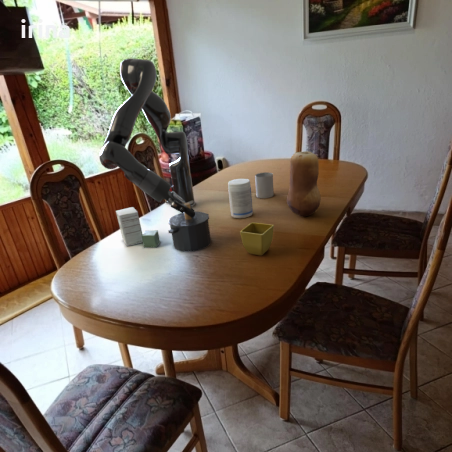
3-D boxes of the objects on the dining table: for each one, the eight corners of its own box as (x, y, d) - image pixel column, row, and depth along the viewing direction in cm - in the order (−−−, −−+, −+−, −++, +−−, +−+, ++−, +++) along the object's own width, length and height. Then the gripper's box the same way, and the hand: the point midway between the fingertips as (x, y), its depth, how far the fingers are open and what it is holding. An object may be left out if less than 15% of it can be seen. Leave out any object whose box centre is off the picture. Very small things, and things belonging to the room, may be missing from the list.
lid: (160, 225, 147) (157, 207, 144) (188, 212, 157) (185, 195, 153) (190, 231, 139) (187, 213, 135) (217, 217, 148) (215, 200, 145)
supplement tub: (257, 214, 172) (255, 180, 165) (239, 220, 168) (236, 186, 161) (244, 209, 179) (241, 176, 172) (226, 215, 175) (223, 181, 168)
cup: (254, 197, 193) (252, 177, 188) (259, 192, 199) (258, 172, 194) (270, 198, 190) (270, 177, 184) (275, 193, 196) (275, 172, 191)
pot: (161, 250, 150) (156, 226, 145) (195, 231, 162) (192, 209, 157) (188, 257, 142) (184, 232, 137) (222, 237, 154) (219, 214, 149)
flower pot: (263, 259, 135) (262, 234, 130) (241, 255, 139) (239, 231, 134) (275, 249, 141) (274, 224, 136) (253, 245, 145) (251, 222, 141)
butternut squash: (326, 212, 167) (328, 149, 154) (308, 222, 159) (309, 157, 146) (298, 207, 175) (298, 147, 162) (280, 216, 167) (278, 155, 154)
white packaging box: (122, 240, 162) (115, 210, 156) (140, 236, 164) (133, 206, 158) (126, 246, 156) (118, 215, 150) (144, 242, 158) (137, 211, 152)
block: (144, 247, 154) (141, 235, 151) (148, 242, 158) (145, 230, 155) (156, 247, 153) (153, 235, 150) (160, 242, 157) (157, 230, 154)
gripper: (160, 181, 132) (202, 212, 139) (159, 172, 144) (197, 200, 151) (147, 200, 134) (189, 228, 142) (148, 189, 146) (186, 216, 154)
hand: (193, 214), depth 147 cm, fingers closed on lid, 2 cm apart
